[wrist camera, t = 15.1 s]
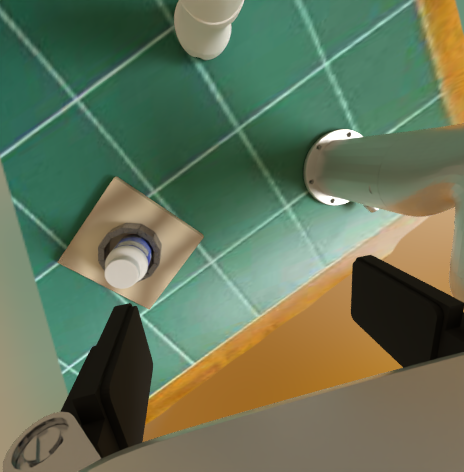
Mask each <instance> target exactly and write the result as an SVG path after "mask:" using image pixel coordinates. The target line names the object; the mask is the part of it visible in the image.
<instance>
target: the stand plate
mask: <svg viewBox="0 0 464 472" xmlns="http://www.w3.org/2000/svg"><path fill="white" fill-rule="evenodd" d="M124 223H138V224H143V225H145V226H146V227H148V228H150V229H151V230H153V231H154V233H156V235H157V236H158V238H159V240H160V242H161V244H162V249H161V259H160V264H159V266H158V267H157V269H156V270H155V271H154V273H153V274H152V276H151V277H148V278H146V279H144V280H142V281H140V282H137V283H135V284H134V285H133V286H131V287H129V288H125V289H119V288H115V287H113V286H111V285H110V284H109V283H108V282H107V280H106V279H105V271H104V270H103V268H102V267H101V265H100V264H99V261H98V246H99V245H100V243H101V242H102V240H103V239H104V237H105V236H106V234H107V233H108V232H110V231H111V230H112V229H113V228H115V227H117V226H119V225H122V224H124ZM128 234H129V233H122V234H120V235H118V236H116V237H113V238H112V240H111V241H110V252H111V251H112V250H113V249H114V247H115V246H116V245H117V244H118V242H119V241H120V240H121V239H122V238H123V237H124V236H126V235H128ZM203 238H204V236H203V234H202V233H200V232H199V231H197V230H196V229H194V228H193V227H191V226H190V225H188V224H187V223H185V222H184V221H182V220H181V219H179V218H178V217H176V216H175V215H173V214H172V213H170V212H169V211H167V210H166V209H165V208H163V207H162V206H160V205H159V204H157V203H156V202H154V201H153V200H151V199H150V198H148V197H147V196H145V195H144V194H142V193H141V192H139V191H138V190H136V189H135V188H133V187H132V186H130V185H129V184H127V183H126V182H124V181H123V180H121V179H120V178H118V177H114V178H113V180H112V181H111V183H110V184H109V186H108V187H107V189H106V190H105V192H104V193H103V195H102V196H101V198H100V199H99V201H98V202H97V204H96V205H95V207H94V208H93V210H92V211H91V213H90V214H89V216H88V217H87V219H86V220H85V222H84V223H83V225H82V226H81V228H80V229H79V231H78V232H77V234H76V235H75V237H74V238H73V240H72V241H71V243H70V244H69V246H68V247H67V249H66V250H65V252H64V253H63V255H62V256H61V258H60V259H59V261H58V263H60V264H61V265H63V266H65V267H67V268H69V269H71V270H73V271H75V272H77V273H79V274H81V275H83V276H85V277H87V278H89V279H91V280H93V281H95V282H97V283H99V284H101V285H103V286H105V287H106V288H108V289H110V290H112V291H114V292H116V293H118V294H120V295H122V296H124V297H126V298H128V299H130V300H132V301H134V302H136V303H138V304H140V305H142V306H144V307H146V308H148V309H150V308H151V307H152V305H153V304H154V303H155V301H156V300H157V299H158V297H159V296H160V295H161V293H162V292H163V291H164V289H165V288H166V287H167V285H168V284H169V283H170V281H171V280H172V279H173V277H174V276H175V275H176V273H177V272H178V271H179V269H180V268H181V267H182V265H183V264H184V263H185V261H186V260H187V259H188V257H189V256H190V255H191V253H192V252H193V251H194V249H195V248H196V247H197V246H198V244H199V243H200V242H201V240H202V239H203ZM154 253H155V252H154V250H153V254H152V257H151V260H150V263H149V265H150V264H151V262H152V261H153V259H154Z"/></svg>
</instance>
